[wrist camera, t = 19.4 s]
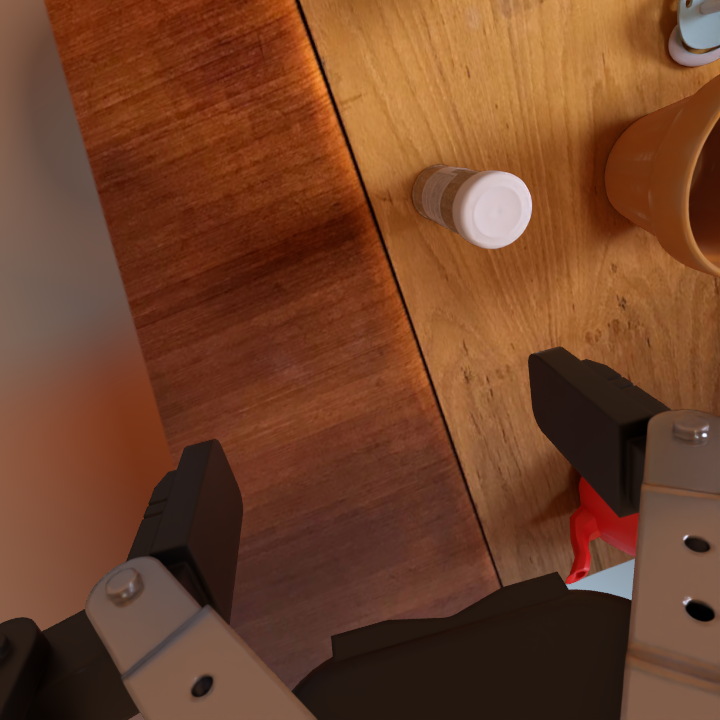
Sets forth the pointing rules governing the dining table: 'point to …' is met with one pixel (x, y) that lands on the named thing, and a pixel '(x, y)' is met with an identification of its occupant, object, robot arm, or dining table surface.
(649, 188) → the flower pot
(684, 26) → the pacifier
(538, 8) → the dining table surface
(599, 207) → the dining table surface
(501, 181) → the sprinkles bottle
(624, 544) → the teapot
